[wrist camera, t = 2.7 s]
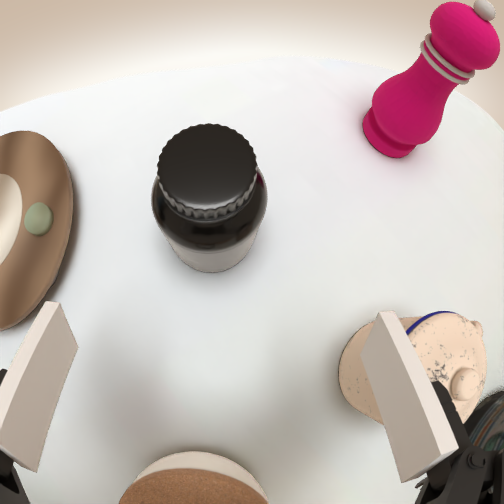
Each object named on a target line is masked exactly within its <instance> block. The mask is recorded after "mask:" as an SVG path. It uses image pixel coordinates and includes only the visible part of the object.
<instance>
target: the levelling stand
mask: <svg viewBox="0 0 504 504" xmlns="http://www.w3.org/2000/svg"><path fill="white" fill-rule="evenodd" d="M72 215H73V189H72V181H71V177H70V172H69V169H68V167H67V164H66V162H65V160H64V158H63V156H62V155H61V153H60V152H59V151H58V150H57V149H56V147H55V146H54V145H53V144H52V143H51V141H49V140H48V139H47V138H46V137H44V136H42V135H40V134H38V133H36V132H31V131H16V132H11V133H8V134H5V135H2V136H0V331H1V330H5V329H8V328H10V327H12V326H14V325H16V324H18V323H19V322H21V321H22V320H23V319H24V318H26V317H27V316H28V315H29V314H30V313H31V312H32V311H33V310H34V309H35V308H36V307H37V305H38V304H39V303H40V301H41V300H42V299H43V297H44V296H45V294H46V293H47V291H48V289H49V288H50V287H51V286H52V285H53V284H54V282H55V281H56V279H57V276H58V272H59V267H60V264H61V262H62V259H63V257H64V254H65V250H66V247H67V243H68V239H69V234H70V229H71V224H72Z"/></svg>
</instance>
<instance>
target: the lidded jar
mask: <svg viewBox="0 0 504 504" xmlns="http://www.w3.org/2000/svg"><path fill="white" fill-rule="evenodd" d="M119 504H269V502H268V499H267V496H266V495H265V493H264V491H263V490H262V488H261V486H260V484H259V483H258V482H257V481H256V480H255V479H254V477H253V476H252V475H251V474H250V473H249V472H248V471H247V470H245V469H244V468H243V467H242V466H240V465H238V464H237V463H235V462H233V461H231V460H229V459H227V458H225V457H222V456H219V455H216V454H212V453H207V452H198V451H190V452H181V453H175V454H172V455H168V456H165V457H163V458H161V459H159V460H157V461H155V462H154V463H152V464H151V465H149V466H148V467H147V468H146V469H145V470H144V471H143V472H141V473H140V474H139V475H138V476H137V477H136V479H135V480H134V482H133V483H132V485H131V486H130V487H129V488H128V489H127V490H126V491H125V493H124V495H123V496H122V498H121V499H120V502H119Z"/></svg>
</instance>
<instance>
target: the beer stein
mask: <svg viewBox="0 0 504 504" xmlns="http://www.w3.org/2000/svg"><path fill="white" fill-rule="evenodd" d="M463 425H464V427H465V430H466V432H467V434H468V437H469V439H470V441H471V443H472V444H473V445H474V446H479V447H480V448H482V449H483V450H484V451H494V450H502V449H503V448H504V392H503V391H500V392H498V393H496V394H494V395H492V396H489V397H487V398H485V399H484V400H483V401H482V402H481V403H480V404H479V405H478V406H477V407H476V408H475V409H474V410H473V412H472V413H471V415H470V416H469V418H468V419H467V420H466V421H465V422H464V424H463ZM491 491H492V493H493V487H491Z"/></svg>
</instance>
